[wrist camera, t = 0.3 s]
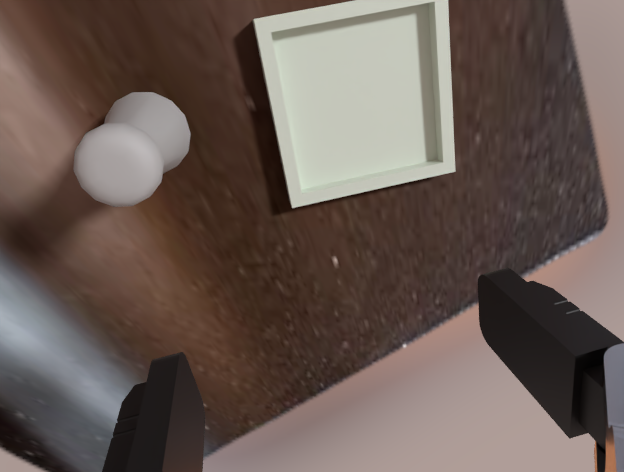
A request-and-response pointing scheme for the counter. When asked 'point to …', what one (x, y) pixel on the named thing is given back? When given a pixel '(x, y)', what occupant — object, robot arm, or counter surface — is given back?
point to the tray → (359, 95)
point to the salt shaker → (132, 149)
